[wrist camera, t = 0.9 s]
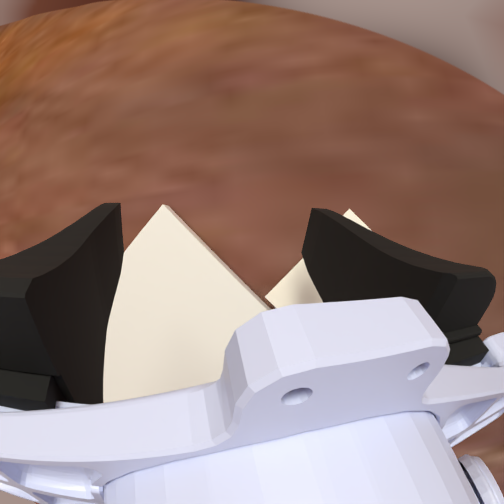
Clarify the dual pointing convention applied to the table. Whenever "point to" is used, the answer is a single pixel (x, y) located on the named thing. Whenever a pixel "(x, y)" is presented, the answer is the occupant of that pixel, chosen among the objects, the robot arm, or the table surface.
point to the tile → (171, 312)
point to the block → (300, 282)
